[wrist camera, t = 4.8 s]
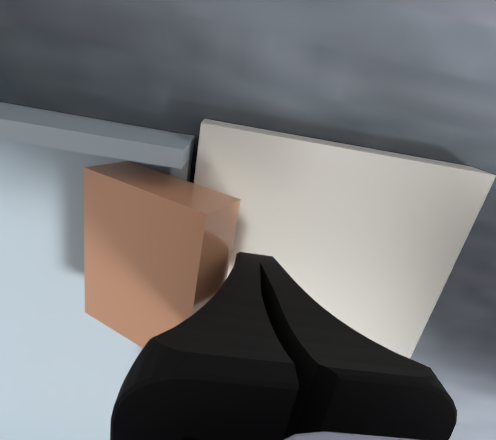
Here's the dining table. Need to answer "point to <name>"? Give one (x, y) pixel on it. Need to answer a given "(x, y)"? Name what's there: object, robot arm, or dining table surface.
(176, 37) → the dining table surface
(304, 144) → the cream plate
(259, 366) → the robot arm
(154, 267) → the terracotta tile
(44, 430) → the tray
